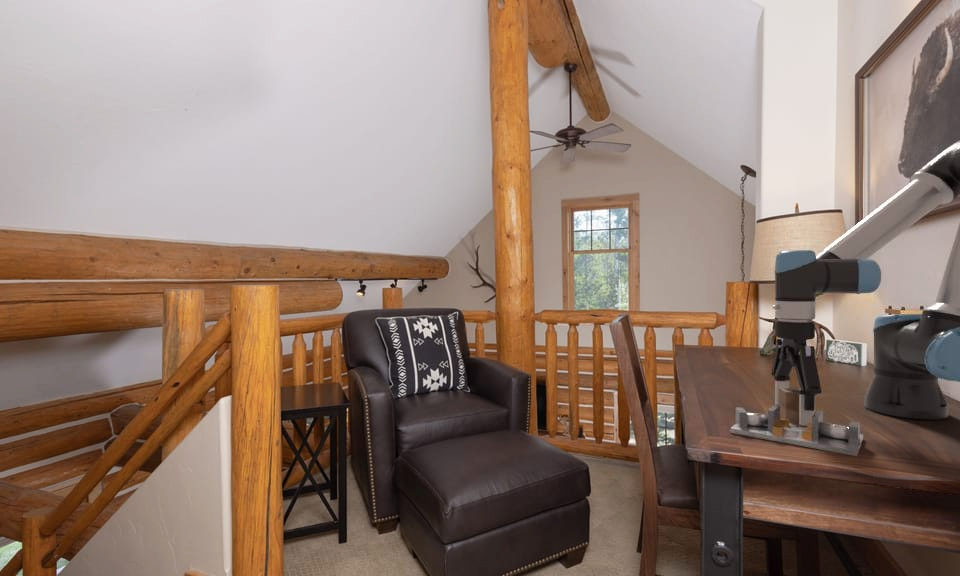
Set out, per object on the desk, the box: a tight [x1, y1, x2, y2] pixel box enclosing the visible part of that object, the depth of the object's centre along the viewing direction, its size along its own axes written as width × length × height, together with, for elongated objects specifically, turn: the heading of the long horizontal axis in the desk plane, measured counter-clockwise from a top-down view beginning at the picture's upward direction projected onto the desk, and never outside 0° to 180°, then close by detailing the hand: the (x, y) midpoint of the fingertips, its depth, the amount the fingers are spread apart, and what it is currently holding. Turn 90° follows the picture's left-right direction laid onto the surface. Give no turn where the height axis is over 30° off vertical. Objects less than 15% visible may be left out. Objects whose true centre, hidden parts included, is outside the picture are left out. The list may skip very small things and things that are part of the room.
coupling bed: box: [730, 404, 864, 457], centre depth 101 cm, size 21×12×5 cm, turn 48°
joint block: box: [779, 386, 801, 424], centre depth 111 cm, size 5×4×8 cm
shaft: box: [735, 406, 768, 428], centre depth 105 cm, size 6×4×3 cm
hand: (793, 416), depth 111 cm, fingers open, 12 cm apart
